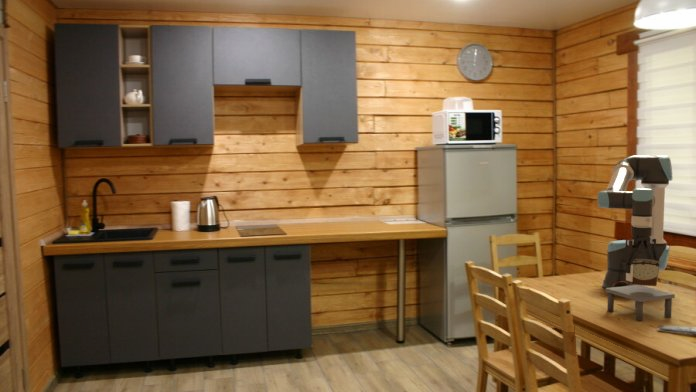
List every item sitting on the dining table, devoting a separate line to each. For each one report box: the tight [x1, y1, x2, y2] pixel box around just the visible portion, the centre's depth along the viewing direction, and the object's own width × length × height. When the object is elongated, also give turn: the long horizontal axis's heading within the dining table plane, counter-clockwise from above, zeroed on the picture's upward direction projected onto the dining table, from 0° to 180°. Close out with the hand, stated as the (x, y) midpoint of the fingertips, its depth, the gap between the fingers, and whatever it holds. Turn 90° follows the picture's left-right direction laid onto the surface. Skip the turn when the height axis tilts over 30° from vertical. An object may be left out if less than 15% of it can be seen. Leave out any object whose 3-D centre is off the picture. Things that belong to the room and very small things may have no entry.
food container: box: [631, 259, 661, 287], centre depth 240 cm, size 12×6×10 cm, turn 69°
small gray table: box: [605, 285, 676, 322], centre depth 241 cm, size 18×18×10 cm
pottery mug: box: [612, 281, 631, 296], centre depth 270 cm, size 12×10×8 cm
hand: (639, 279), depth 240 cm, fingers closed on food container, 10 cm apart
